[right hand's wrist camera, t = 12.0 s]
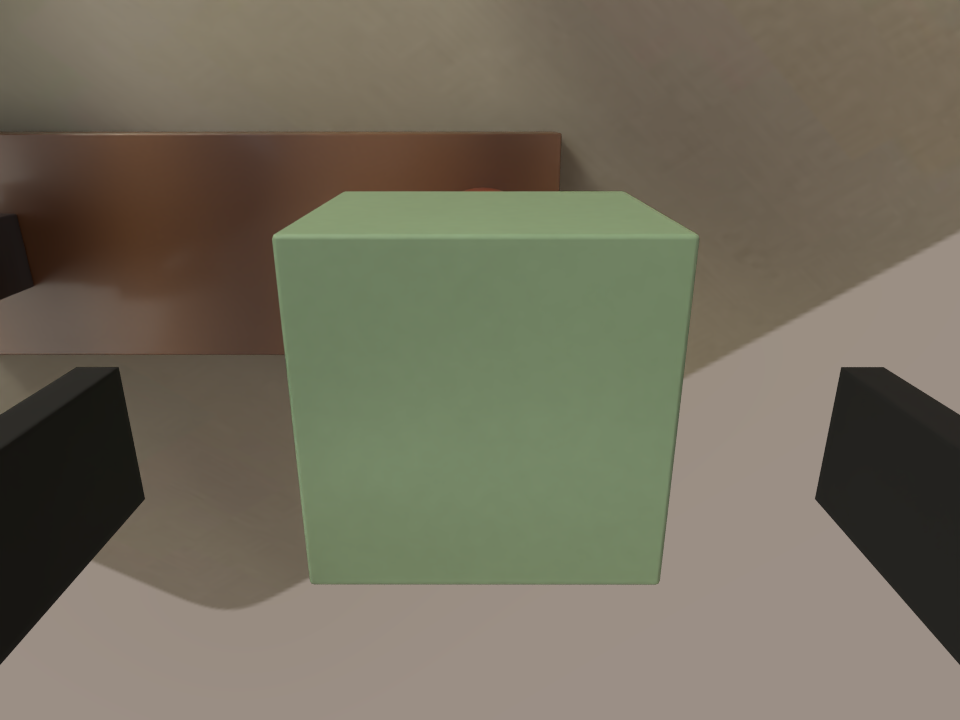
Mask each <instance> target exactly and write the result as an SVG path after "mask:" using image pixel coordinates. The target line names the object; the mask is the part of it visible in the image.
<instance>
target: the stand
mask: <svg viewBox="0 0 960 720" xmlns="http://www.w3.org/2000/svg"><path fill="white" fill-rule="evenodd" d="M560 159H561V134H560V133H557V132H0V354H232V355H285V351H284V342H283V333H282V324H281V315H280V306H279V297H278V288H277V279H276V270H275V261H274V252H273V243H272V238H273V235H274V234H276V233H277V232H279V231H281V230H282V229H284V228H285V227H287V226H289V225H290V224H292V223H294V222H295V221H297V220H298V219H300V218H302V217H303V216H305V215H307V214H308V213H310V212H312V211H313V210H315V209H316V208H318V207H320V206H321V205H323V204H325V203H326V202H328V201H330V200H331V199H333V198H334V197H336V196H338V195H339V194H341V193H343V192H345V191H559V183H560Z"/></svg>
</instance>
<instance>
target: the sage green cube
mask: <svg viewBox="0 0 960 720" xmlns="http://www.w3.org/2000/svg"><path fill="white" fill-rule="evenodd" d="M272 243H273V252H274V261H275V270H276V279H277V288H278V297H279V306H280V315H281V324H282V333H283V342H284V351H285V360H286V369H287V378H288V387H289V396H290V405H291V414H292V424H293V433H294V442H295V451H296V460H297V469H298V478H299V487H300V496H301V505H302V514H303V523H304V532H305V541H306V550H307V559H308V568H309V577H310V582H311V583H312V584H617V585H619V584H622V585H623V584H625V585H626V584H627V585H632V584H633V585H634V584H635V585H638V584H640V585H641V584H643V585H647V584H648V585H655V584H658V583H659V581H660V574H661V565H662V556H663V548H664V539H665V531H666V522H667V513H668V504H669V496H670V487H671V479H672V470H673V462H674V453H675V445H676V436H677V427H678V418H679V410H680V402H681V393H682V384H683V376H684V367H685V359H686V350H687V341H688V333H689V324H690V315H691V307H692V298H693V290H694V281H695V272H696V264H697V255H698V247H699V236H698V235H697V234H696V233H694V232H692V231H691V230H689V229H687V228H686V227H684V226H682V225H680V224H679V223H677V222H675V221H674V220H672V219H670V218H668V217H667V216H665V215H663V214H662V213H660V212H658V211H656V210H655V209H653V208H651V207H650V206H648V205H646V204H644V203H643V202H641V201H639V200H638V199H636V198H634V197H633V196H631V195H629V194H627V193H626V192H623V191H345V192H343V193H341V194H339V195H338V196H336V197H334V198H333V199H331V200H330V201H328V202H326V203H325V204H323V205H321V206H320V207H318V208H316V209H315V210H313V211H312V212H310V213H308V214H307V215H305V216H303V217H302V218H300V219H298V220H297V221H295V222H294V223H292V224H290V225H289V226H287V227H285V228H284V229H282V230H281V231H279V232H277V233H276V234H274V235H273V238H272Z"/></svg>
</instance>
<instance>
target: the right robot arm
mask: <svg viewBox="0 0 960 720" xmlns="http://www.w3.org/2000/svg"><path fill="white" fill-rule="evenodd" d="M144 499H145V497H144V492H143V487H142V482H141V477H140V472H139V467H138V462H137V457H136V452H135V447H134V442H133V437H132V432H131V427H130V422H129V417H128V412H127V407H126V402H125V397H124V392H123V387H122V382H121V377H120V372H119V367H76V368H75V369H73V370H71V371H70V372H68V373H67V374H65V375H63V376H62V377H60V378H59V379H57V380H55V381H54V382H52V383H51V384H49V385H47V386H46V387H44V388H43V389H41V390H39V391H38V392H36V393H35V394H33V395H31V396H30V397H28V398H27V399H25V400H23V401H22V402H20V403H19V404H17V405H15V406H14V407H12V408H11V409H9V410H7V411H6V412H4V413H3V414H1V415H0V664H1V663H2V662H3V661H4V660H5V659H6V657H7V656H8V655H9V654H10V653H11V652H12V651H13V649H14V648H15V647H16V646H17V645H18V644H19V643H20V641H21V640H22V639H23V638H24V637H25V636H26V635H27V633H28V632H29V631H30V630H31V629H32V628H33V627H34V625H35V624H36V623H37V622H38V621H39V620H40V619H41V617H42V616H43V615H44V614H45V613H46V612H47V611H48V609H49V608H50V607H51V606H52V605H53V604H54V603H55V601H56V600H57V599H58V598H59V597H60V596H61V594H62V593H63V592H64V591H65V590H66V589H67V588H68V586H69V585H70V584H71V583H72V582H73V581H74V580H75V578H76V577H77V576H78V575H79V574H80V573H81V572H82V570H83V569H84V568H85V567H86V566H87V565H88V564H89V562H90V561H91V560H92V559H93V558H94V557H95V556H96V554H97V553H98V552H99V551H100V550H101V549H102V548H103V546H104V545H105V544H106V543H107V542H108V541H109V540H110V538H111V537H112V536H113V535H114V534H115V533H116V531H117V530H118V529H119V528H120V527H121V526H122V525H123V523H124V522H125V521H126V520H127V519H128V518H129V517H130V515H131V514H132V513H133V512H134V511H135V510H136V509H137V507H138V506H139V505H140V504H141V503H142V502H143V501H144ZM815 499H816V501H817V502H818V503H819V504H820V505H821V506H822V507H823V509H824V510H825V511H826V512H827V513H828V514H829V515H830V516H831V518H832V519H833V520H834V521H835V522H836V523H837V525H838V526H839V527H840V528H841V529H842V530H843V531H844V533H845V534H846V535H847V536H848V537H849V538H850V539H851V541H852V542H853V543H854V544H855V545H856V546H857V548H858V549H859V550H860V551H861V552H862V553H863V554H864V556H865V557H866V558H867V559H868V560H869V561H870V562H871V564H872V565H873V566H874V567H875V568H876V569H877V570H878V572H879V573H880V574H881V575H882V576H883V577H884V578H885V580H886V581H887V582H888V583H889V584H890V585H891V586H892V588H893V589H894V590H895V591H896V592H897V593H898V594H899V596H900V597H901V598H902V599H903V600H904V601H905V603H906V604H907V605H908V606H909V607H910V608H911V609H912V611H913V612H914V613H915V614H916V615H917V616H918V617H919V619H920V620H921V621H922V622H923V623H924V624H925V625H926V626H927V628H928V629H929V630H930V631H931V632H932V633H933V635H934V636H935V637H936V638H937V639H938V640H939V641H940V643H941V644H942V645H943V646H944V647H945V648H946V649H947V651H948V652H949V653H950V654H951V655H952V656H953V657H954V659H955V660H956V661H957V662H958V663H959V664H960V415H959V414H957V413H956V412H954V411H953V410H951V409H949V408H948V407H946V406H945V405H943V404H941V403H940V402H938V401H937V400H935V399H933V398H932V397H930V396H929V395H927V394H925V393H924V392H922V391H921V390H919V389H917V388H916V387H914V386H912V385H911V384H909V383H908V382H906V381H905V380H903V379H901V378H900V377H898V376H897V375H895V374H893V373H892V372H890V371H889V370H887V369H885V368H884V367H842V368H841V372H840V377H839V382H838V387H837V392H836V397H835V402H834V407H833V412H832V417H831V422H830V427H829V432H828V437H827V442H826V447H825V452H824V457H823V462H822V467H821V472H820V477H819V482H818V487H817V492H816V497H815Z"/></svg>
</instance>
